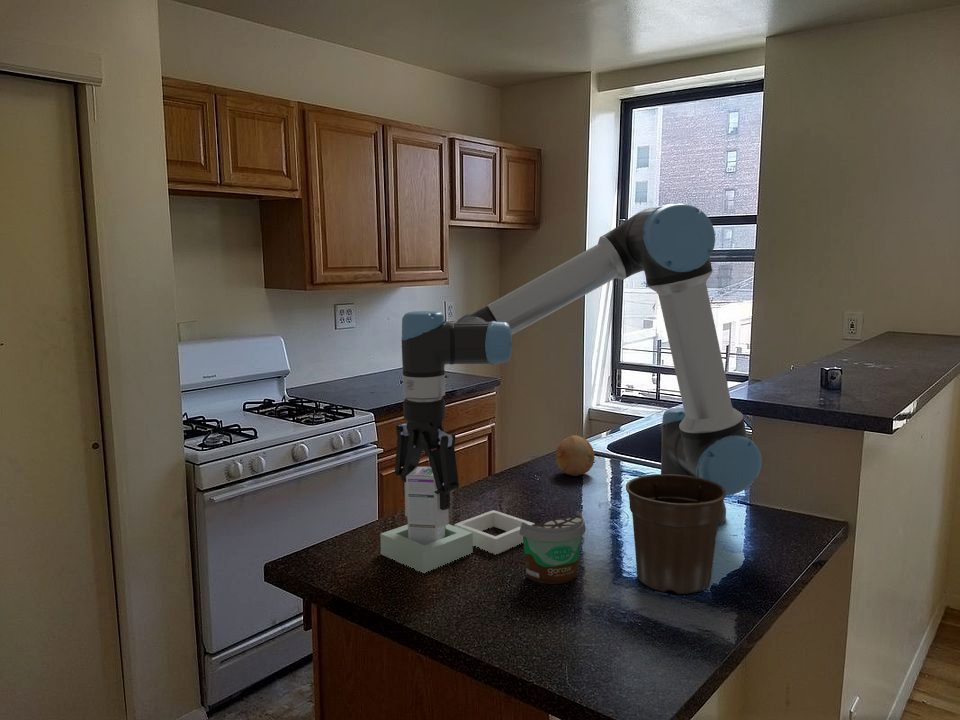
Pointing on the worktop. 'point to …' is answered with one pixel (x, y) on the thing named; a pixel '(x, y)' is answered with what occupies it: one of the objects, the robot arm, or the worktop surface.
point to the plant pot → (675, 530)
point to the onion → (575, 455)
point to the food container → (553, 549)
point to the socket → (426, 548)
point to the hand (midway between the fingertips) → (426, 519)
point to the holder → (499, 521)
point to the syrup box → (422, 507)
